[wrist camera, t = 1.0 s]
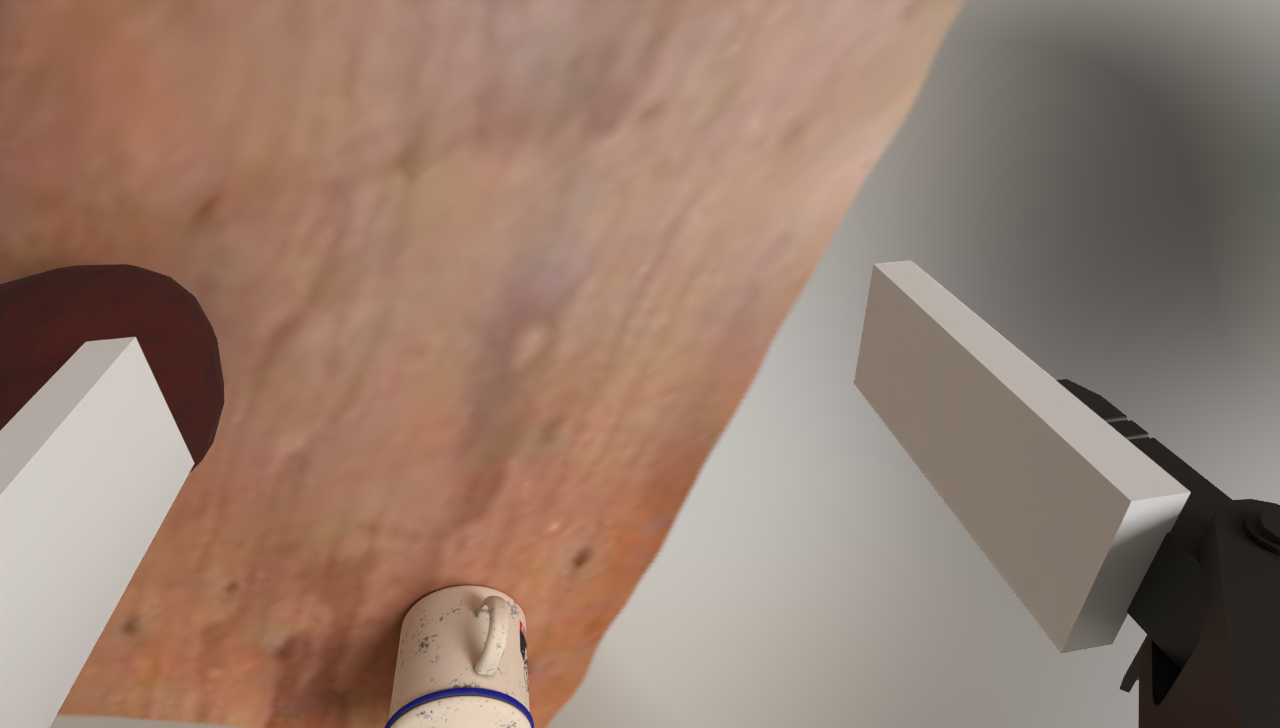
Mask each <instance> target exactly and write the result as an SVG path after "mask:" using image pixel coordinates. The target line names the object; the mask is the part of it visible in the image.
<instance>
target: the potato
mask: <svg viewBox="0 0 1280 728" xmlns="http://www.w3.org/2000/svg"><path fill="white" fill-rule="evenodd" d="M128 337H136V339H137V341H138V343H139V345H140V347H141V350H142V352H143V354H144V356H145V358H146V360H147V362H148V365H149V367H150V369H151V371H152V373H153V375H154V378H155V380H156V382H157V384H158V386H159V388H160V390H161V393H162V395H163V397H164V399H165V401H166V403H167V405H168V408H169V410H170V412H171V414H172V416H173V418H174V420H175V423H176V425H177V427H178V429H179V431H180V433H181V435H182V438H183V440H184V442H185V444H186V446H187V448H188V451H189V453H190V455H191V457H192V459H193V461H194V465H193V467H192V469H191V471H192V470H193V469H194V468H195V467H196V466H197V465H198V464H199V463H200V462H201V461H202V460H203V458H204V456H205V455H206V453H207V452H208V450H209V448H210V447H211V445H212V444H213V441H214V438H215V434H216V430H217V427H218V423H219V420H220V416H221V412H222V409H223V405H224V381H223V375H222V369H221V362H220V356H219V349H218V343H217V338H216V336H215V333H214V331H213V328H212V326H211V324H210V322H209V320H208V319H207V317H206V315H205V313H204V312H203V310H202V308H201V306H200V305H199V303H198V301H197V299H196V298H195V296H193V295H192V294H191V293H190V292H188V291H187V290H186V289H184V288H183V287H182V286H181V285H179V284H178V283H177V282H176V281H174V280H173V279H172V278H171V277H169V276H166V275H162V274H159V273H156V272H153V271H150V270H147V269H143V268H140V267H137V266H132V265H126V264H122V265H85V266H72V267H66V268H60V269H54V270H51V271H47V272H44V273H40V274H36V275H33V276H29V277H26V278H22V279H18V280H15V281H11V282H8V283H4V284H1V285H0V431H1V429H2V428H3V427H4V426H5V425H6V424H7V423H8V422H9V421H10V420H11V419H12V418H13V417H14V416H15V415H16V414H17V413H18V412H19V411H20V410H21V409H22V408H23V407H24V406H25V405H26V403H27V402H28V401H29V400H30V399H31V398H32V397H33V396H34V395H35V394H36V393H37V392H38V391H39V390H40V389H41V388H42V387H43V386H44V385H45V384H46V383H47V382H48V381H49V380H50V379H51V377H52V376H53V375H54V374H55V373H56V372H57V371H58V370H59V369H60V368H61V367H62V366H63V365H64V364H65V363H66V362H67V361H68V360H69V359H70V358H71V357H72V356H73V355H74V354H75V353H76V351H77V350H78V349H79V348H80V347H81V346H82V345H83V344H84V343H85V342H88V341H98V340H108V339H118V338H128ZM191 471H190V472H191Z"/></svg>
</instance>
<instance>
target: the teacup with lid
mask: <svg viewBox="0 0 1280 728" xmlns="http://www.w3.org/2000/svg"><path fill="white" fill-rule="evenodd" d="M385 728H534V723H533V719H532V716H531V714H530V713H529V689H528V663H527V638H526V620H525V616H524V614H523V611H522V610H521V608H520V606H519V605H518V604H517V603H516V602H515V601H514V600H513V599H512V598H510V597H509V596H507V595H506V594H504V593H502V592H500V591H498V590H495V589H492V588H488V587H483V586H475V585H462V586H454V587H449V588H445V589H441V590H438V591H436V592H433V593H431V594H429V595H427V596H426V597H424V598H422V599H421V600H420V601H418V602H417V603H416V604H415V605H414V606H413V607H412V608H411V609H410V610H409V612H408V613H407V615H406V616H405V618H404V621H403V623H402V628H401V634H400V642H399V649H398V656H397V663H396V670H395V677H394V684H393V692H392V699H391V706H390V713H389V720H388V722H387V724H386V726H385Z"/></svg>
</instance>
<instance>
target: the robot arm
mask: <svg viewBox="0 0 1280 728" xmlns="http://www.w3.org/2000/svg"><path fill="white" fill-rule="evenodd" d="M854 384H855V385H856V386H857V388H858V389H859V391H860V392H861V393H862V394H863V396H864V397H865V398H866V400H867V401H868V402H869V404H870V405H871V406H872V407H873V409H874V410H875V411H876V413H877V414H878V415H879V417H880V418H881V419H882V420H883V422H884V423H885V424H886V426H887V427H888V428H889V430H890V431H891V432H892V434H893V435H894V436H895V437H896V439H897V440H898V441H899V443H900V444H901V445H902V447H903V448H904V449H905V450H906V452H907V453H908V454H909V456H910V457H911V458H912V460H913V461H914V462H915V463H916V465H917V466H918V467H919V469H920V470H921V471H922V473H923V474H924V475H925V476H926V478H927V479H928V480H929V481H930V483H931V484H932V486H933V487H934V488H935V490H936V491H937V492H938V494H939V495H940V496H941V497H942V499H943V500H944V501H945V503H946V504H947V505H948V506H949V508H950V509H951V510H952V512H953V513H954V514H955V516H956V517H957V518H958V520H959V521H960V522H961V523H962V524H963V526H964V527H965V529H966V530H967V531H968V533H969V534H970V535H971V536H972V538H973V539H974V540H975V542H976V543H977V544H978V546H979V547H980V548H981V550H982V551H983V552H984V553H985V554H986V556H987V557H988V559H989V560H990V561H991V562H992V564H993V565H994V567H995V568H996V569H997V570H998V572H999V573H1000V574H1001V575H1002V577H1003V578H1004V579H1005V581H1006V582H1007V583H1008V585H1009V586H1010V587H1011V588H1012V590H1013V591H1014V593H1015V594H1016V595H1017V596H1018V598H1019V599H1020V600H1021V602H1022V603H1023V604H1024V606H1025V607H1026V608H1027V610H1028V611H1029V612H1030V613H1031V615H1032V616H1033V617H1034V619H1035V620H1036V621H1037V622H1038V624H1039V625H1040V626H1041V628H1042V629H1043V630H1044V632H1045V633H1046V634H1047V636H1048V637H1049V638H1050V639H1051V641H1052V642H1053V643H1054V645H1055V646H1056V647H1057V649H1058V650H1059V651H1060V652H1061V653H1065V652H1070V651H1075V650H1081V649H1087V648H1092V647H1097V646H1104V645H1109V644H1112V643H1113V641H1114V639H1115V638H1116V636H1117V634H1118V632H1119V630H1120V628H1121V625H1122V624H1123V622H1124V620H1125V618H1126V616H1127V614H1129V615H1130V616H1131V617H1132V618H1133V619H1134V620H1135V621H1136V622H1137V624H1138V625H1139V626H1140V627H1141V628H1142V629H1143V630H1144V631H1145V632H1146V633H1147V636H1146V638H1145V640H1144V642H1143V643H1142V645H1141V647H1140V649H1139V651H1138V652H1137V655H1136V656H1135V658H1134V660H1133V662H1132V663H1131V665H1130V667H1129V669H1128V670H1127V672H1126V674H1125V676H1124V678H1123V681H1122V684H1121V686H1120V689H1121V690H1124V691H1126V692H1129V691H1130V690H1131V688H1132V687H1133V685H1134V683H1135V681H1136V680H1138V679H1139V728H1280V505H1278V504H1275V503H1270V502H1264V501H1258V500H1253V499H1244V500H1232V499H1230V498H1229V497H1228V496H1226V494H1224V493H1223V492H1222V491H1220V490H1219V489H1218V488H1217V487H1215V486H1214V485H1213V484H1211V483H1210V482H1209V481H1208V480H1207V479H1205V478H1204V477H1203V476H1202V475H1200V474H1199V473H1198V472H1197V471H1195V470H1194V469H1193V468H1191V467H1190V466H1189V465H1188V464H1186V463H1185V462H1184V461H1183V460H1181V459H1180V458H1179V457H1178V456H1176V455H1175V454H1174V453H1173V452H1171V451H1170V450H1169V449H1167V448H1166V447H1165V446H1164V445H1162V444H1161V443H1160V442H1159V441H1157V440H1156V439H1155V438H1149V437H1148V433H1147V432H1146V431H1145V430H1143V429H1142V428H1141V427H1140V426H1138V425H1137V424H1136V423H1135V422H1133V421H1132V420H1131V421H1128V420H1127V416H1126V415H1125V414H1123V413H1122V412H1121V411H1120V410H1118V409H1117V408H1116V407H1114V406H1113V405H1112V404H1111V403H1109V402H1108V401H1107V400H1106V399H1104V398H1103V397H1102V396H1100V395H1098V394H1096V393H1094V392H1092V391H1090V390H1088V389H1086V388H1084V387H1082V386H1080V385H1078V384H1076V383H1074V382H1071V381H1069V380H1067V379H1063V380H1055V379H1054V378H1052V377H1051V376H1050V375H1048V373H1046V372H1045V371H1044V370H1043V369H1042V368H1040V367H1039V366H1038V365H1037V364H1036V363H1034V362H1033V361H1032V360H1031V359H1030V358H1028V357H1027V356H1026V355H1025V354H1023V353H1022V352H1021V351H1020V350H1018V349H1017V348H1016V347H1015V346H1014V345H1013V344H1011V343H1010V342H1009V341H1008V340H1007V339H1005V338H1004V337H1003V336H1001V335H1000V334H999V333H998V332H997V331H996V330H994V329H993V328H992V327H991V326H990V325H988V324H987V323H986V322H985V321H984V320H982V319H981V318H980V317H979V316H977V315H976V314H975V313H974V312H973V311H971V310H970V309H969V308H968V307H967V306H966V305H964V304H963V303H962V302H961V301H959V300H958V299H957V298H956V297H955V296H953V295H952V294H951V293H950V292H949V291H947V290H946V289H945V288H944V287H942V286H941V285H940V284H939V283H938V282H937V281H935V280H934V279H933V278H932V277H931V276H929V275H928V274H927V273H926V272H924V271H923V270H922V269H921V268H919V267H918V266H917V265H916V264H914V262H912V261H911V260H910V261H899V262H890V263H880V264H874V265H873V271H872V277H871V283H870V289H869V296H868V302H867V308H866V314H865V321H864V327H863V332H862V339H861V344H860V351H859V357H858V363H857V369H856V375H855V381H854ZM193 465H194V461H193V459H192V457H191V455H190V453H189V451H188V448H187V446H186V444H185V442H184V440H183V438H182V435H181V433H180V431H179V429H178V427H177V425H176V423H175V420H174V418H173V416H172V414H171V412H170V410H169V408H168V405H167V403H166V401H165V399H164V397H163V395H162V393H161V390H160V388H159V386H158V384H157V382H156V380H155V378H154V375H153V373H152V371H151V369H150V367H149V365H148V362H147V360H146V358H145V356H144V354H143V352H142V350H141V347H140V345H139V343H138V341H137V339H136V337H128V338H118V339H108V340H98V341H88V342H85V343H84V344H83V345H82V346H81V347H80V348H79V349H78V350H77V351H76V353H75V354H74V355H73V356H72V357H71V358H70V359H69V360H68V361H67V362H66V363H65V364H64V365H63V366H62V367H61V368H60V369H59V370H58V371H57V372H56V373H55V374H54V375H53V376H52V377H51V379H50V380H49V381H48V382H47V383H46V384H45V385H44V386H43V387H42V388H41V389H40V390H39V391H38V392H37V393H36V394H35V395H34V396H33V397H32V398H31V399H30V400H29V401H28V402H27V403H26V405H25V406H24V407H23V408H22V409H21V410H20V411H19V412H18V413H17V414H16V415H15V416H14V417H13V418H12V419H11V420H10V421H9V422H8V423H7V424H6V425H5V426H4V427H3V428H2V429H1V431H0V728H49V727H50V726H51V724H52V722H53V720H54V718H55V716H56V715H57V713H58V711H59V709H60V707H61V706H62V704H63V702H64V700H65V698H66V696H67V695H68V693H69V691H70V689H71V687H72V686H73V684H74V682H75V680H76V678H77V676H78V675H79V673H80V671H81V669H82V667H83V666H84V664H85V662H86V660H87V658H88V656H89V655H90V653H91V651H92V649H93V647H94V645H95V644H96V642H97V640H98V638H99V636H100V635H101V633H102V631H103V629H104V627H105V625H106V624H107V622H108V620H109V618H110V616H111V615H112V613H113V611H114V609H115V607H116V605H117V604H118V602H119V600H120V598H121V596H122V595H123V593H124V591H125V589H126V587H127V585H128V584H129V582H130V580H131V578H132V576H133V574H134V573H135V571H136V569H137V567H138V565H139V564H140V562H141V560H142V558H143V556H144V554H145V553H146V551H147V549H148V547H149V545H150V544H151V542H152V540H153V538H154V536H155V534H156V533H157V531H158V529H159V527H160V525H161V524H162V522H163V520H164V518H165V516H166V514H167V513H168V511H169V509H170V507H171V505H172V503H173V502H174V500H175V498H176V496H177V494H178V493H179V491H180V489H181V487H182V485H183V483H184V482H185V480H186V478H187V476H188V474H189V473H190V471H191V469H192V467H193Z"/></svg>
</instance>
